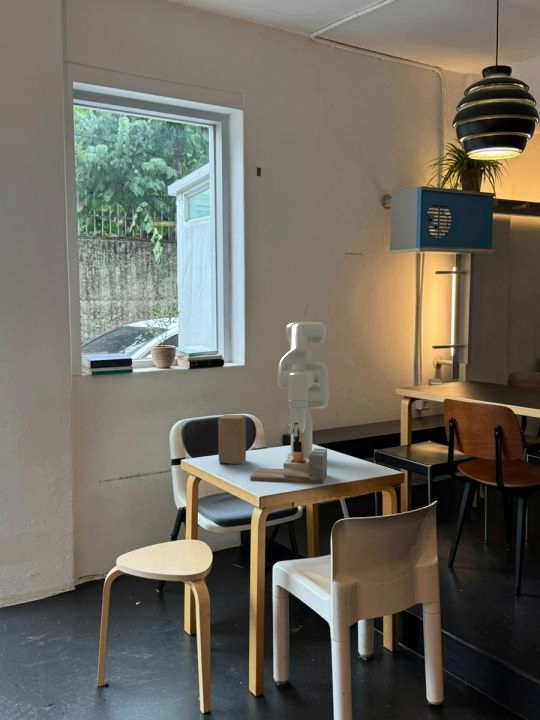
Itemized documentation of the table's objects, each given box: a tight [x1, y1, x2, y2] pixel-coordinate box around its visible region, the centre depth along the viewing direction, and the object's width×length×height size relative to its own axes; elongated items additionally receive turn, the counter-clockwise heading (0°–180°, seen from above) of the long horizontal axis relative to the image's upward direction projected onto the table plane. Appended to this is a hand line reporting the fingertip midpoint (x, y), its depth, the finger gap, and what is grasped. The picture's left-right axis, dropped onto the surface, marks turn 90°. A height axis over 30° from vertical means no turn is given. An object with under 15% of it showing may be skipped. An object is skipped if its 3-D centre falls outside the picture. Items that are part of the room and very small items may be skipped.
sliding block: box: [283, 457, 309, 477], centre depth 271 cm, size 10×10×5 cm
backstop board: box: [249, 448, 328, 485], centre depth 271 cm, size 14×28×10 cm, turn 78°
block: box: [217, 414, 247, 465], centre depth 298 cm, size 10×10×20 cm
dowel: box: [293, 430, 304, 463], centre depth 270 cm, size 4×4×13 cm
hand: (298, 450), depth 270 cm, fingers closed on dowel, 4 cm apart
